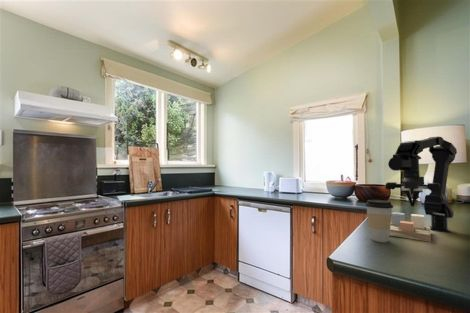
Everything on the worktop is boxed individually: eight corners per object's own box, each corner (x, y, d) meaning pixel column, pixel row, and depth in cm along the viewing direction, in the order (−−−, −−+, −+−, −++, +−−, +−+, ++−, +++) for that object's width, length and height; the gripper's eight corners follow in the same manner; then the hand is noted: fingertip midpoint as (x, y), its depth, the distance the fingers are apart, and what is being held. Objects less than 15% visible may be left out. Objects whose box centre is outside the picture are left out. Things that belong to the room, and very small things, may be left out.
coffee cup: (368, 235, 100) (367, 198, 100) (395, 239, 94) (394, 200, 94) (363, 240, 92) (362, 201, 93) (392, 245, 86) (391, 203, 87)
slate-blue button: (392, 223, 111) (392, 212, 111) (404, 224, 108) (404, 213, 108) (391, 224, 107) (391, 213, 108) (404, 226, 104) (403, 214, 105)
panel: (389, 227, 113) (388, 222, 113) (430, 232, 104) (429, 227, 104) (384, 234, 101) (384, 228, 101) (430, 241, 91) (430, 235, 91)
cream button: (411, 225, 106) (411, 213, 107) (424, 226, 104) (424, 215, 104) (411, 227, 103) (410, 215, 103) (424, 228, 100) (424, 216, 100)
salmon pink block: (400, 232, 102) (400, 220, 102) (414, 234, 99) (413, 222, 100) (400, 234, 99) (399, 222, 99) (413, 236, 96) (413, 224, 96)
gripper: (383, 170, 103) (384, 207, 102) (440, 170, 91) (442, 211, 91) (386, 170, 112) (387, 203, 111) (438, 169, 100) (440, 207, 100)
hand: (412, 206), depth 103 cm, fingers closed
